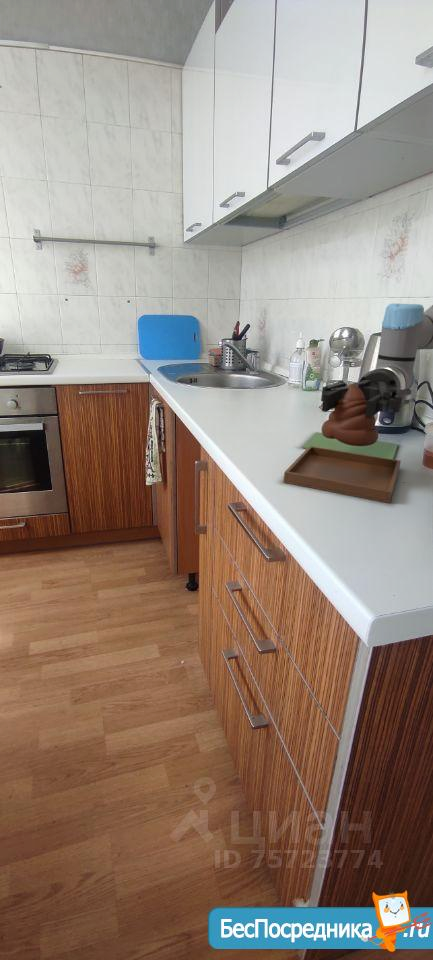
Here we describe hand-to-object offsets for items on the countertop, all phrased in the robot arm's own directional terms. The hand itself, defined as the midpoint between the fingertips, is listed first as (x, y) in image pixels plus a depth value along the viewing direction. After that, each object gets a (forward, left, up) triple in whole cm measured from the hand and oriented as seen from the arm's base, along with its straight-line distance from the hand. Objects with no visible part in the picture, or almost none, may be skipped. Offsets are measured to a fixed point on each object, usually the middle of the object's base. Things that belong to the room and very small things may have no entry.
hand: (346, 406), depth 74 cm
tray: (-1, -5, -13) cm, 14 cm away
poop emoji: (0, -5, -7) cm, 8 cm away
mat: (+1, -24, -13) cm, 28 cm away
